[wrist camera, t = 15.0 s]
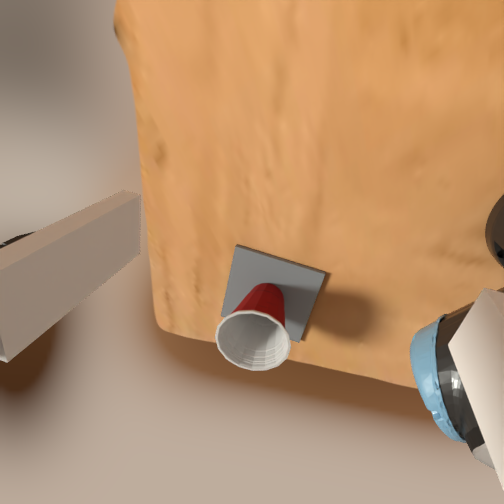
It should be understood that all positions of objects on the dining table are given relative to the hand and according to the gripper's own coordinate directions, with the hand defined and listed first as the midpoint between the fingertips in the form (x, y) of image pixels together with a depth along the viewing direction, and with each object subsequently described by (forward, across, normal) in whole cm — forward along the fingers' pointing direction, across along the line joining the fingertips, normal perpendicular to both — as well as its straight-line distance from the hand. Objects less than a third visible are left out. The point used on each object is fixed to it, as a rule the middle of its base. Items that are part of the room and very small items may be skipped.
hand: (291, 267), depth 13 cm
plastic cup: (+36, +3, +27) cm, 45 cm away
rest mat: (+36, +3, +27) cm, 46 cm away
